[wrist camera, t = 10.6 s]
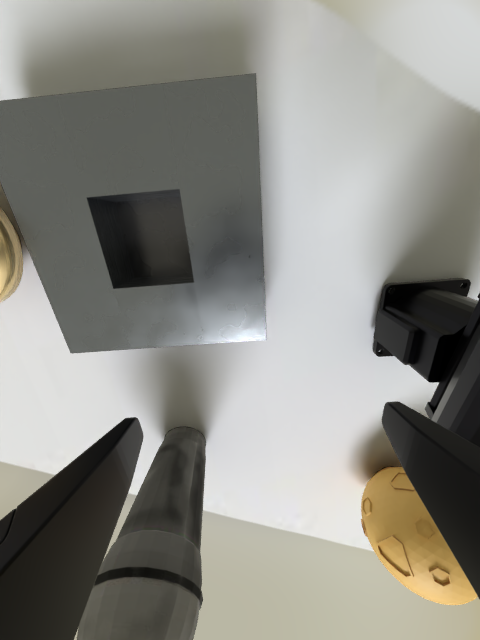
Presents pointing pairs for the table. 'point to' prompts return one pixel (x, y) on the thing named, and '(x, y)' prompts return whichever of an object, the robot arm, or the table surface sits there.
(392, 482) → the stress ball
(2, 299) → the end cover
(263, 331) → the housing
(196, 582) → the beverage cup
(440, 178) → the table surface
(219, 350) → the table surface
